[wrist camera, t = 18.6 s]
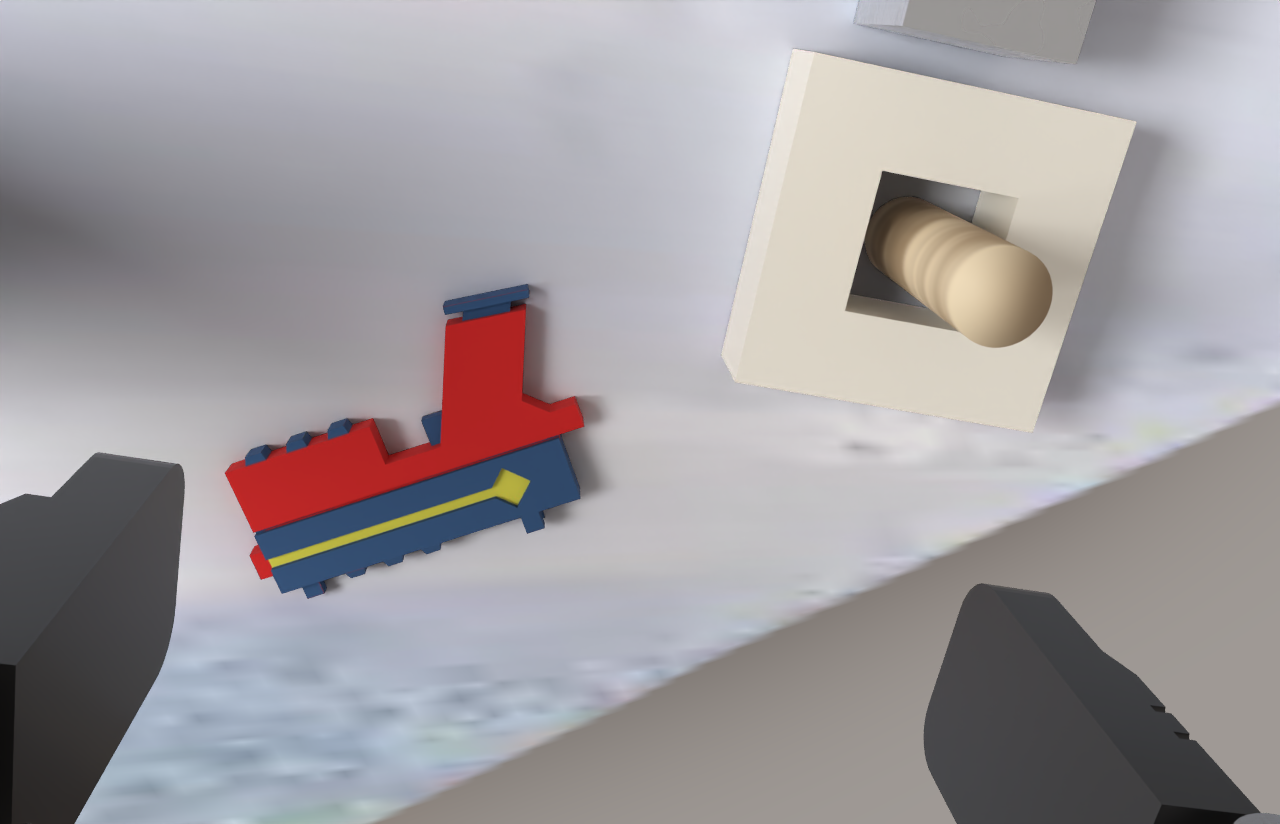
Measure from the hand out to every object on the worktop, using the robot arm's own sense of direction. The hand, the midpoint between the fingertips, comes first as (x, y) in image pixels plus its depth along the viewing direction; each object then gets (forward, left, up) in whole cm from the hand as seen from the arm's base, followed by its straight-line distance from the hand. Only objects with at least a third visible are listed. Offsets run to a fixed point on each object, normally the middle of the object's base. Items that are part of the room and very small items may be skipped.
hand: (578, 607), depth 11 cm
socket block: (+14, 0, -33) cm, 36 cm away
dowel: (+14, 0, -33) cm, 36 cm away
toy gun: (-4, -12, -34) cm, 36 cm away
